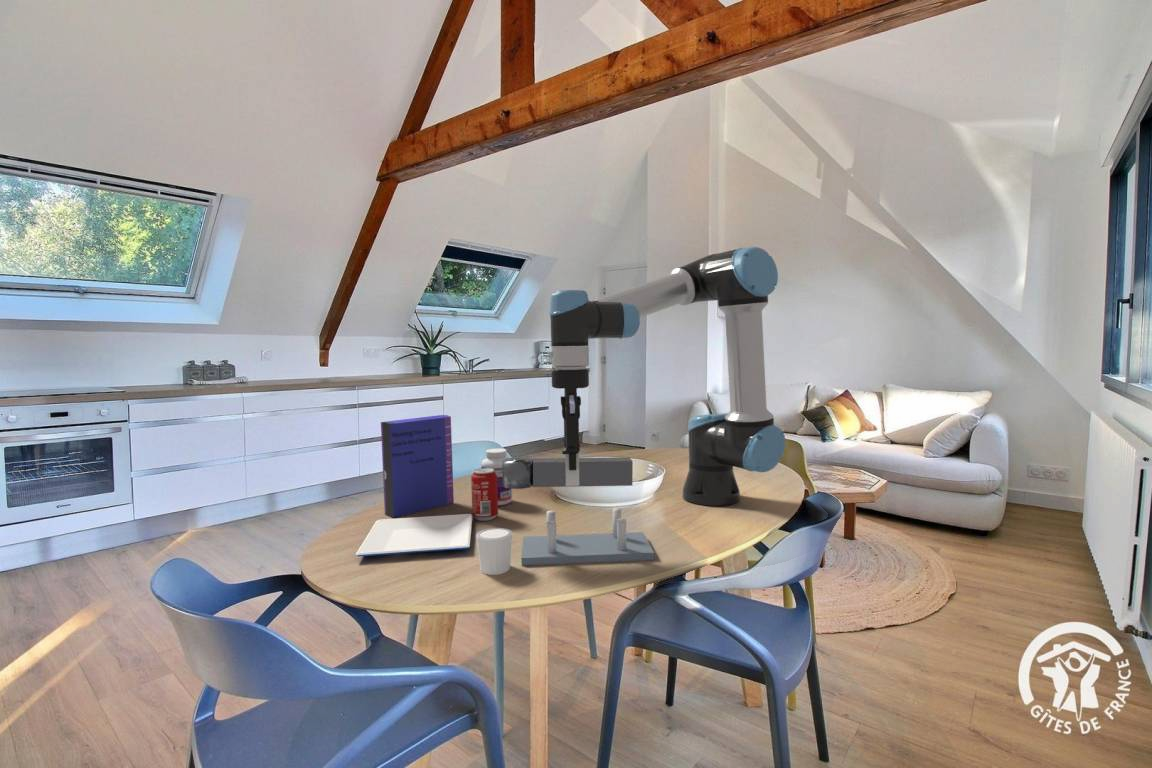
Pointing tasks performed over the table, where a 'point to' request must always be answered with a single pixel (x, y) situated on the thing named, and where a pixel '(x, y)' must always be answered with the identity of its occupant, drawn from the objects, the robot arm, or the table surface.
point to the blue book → (417, 464)
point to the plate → (417, 535)
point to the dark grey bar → (553, 472)
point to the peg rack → (586, 545)
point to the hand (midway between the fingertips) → (571, 482)
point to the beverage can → (484, 494)
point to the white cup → (494, 550)
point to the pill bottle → (498, 473)
